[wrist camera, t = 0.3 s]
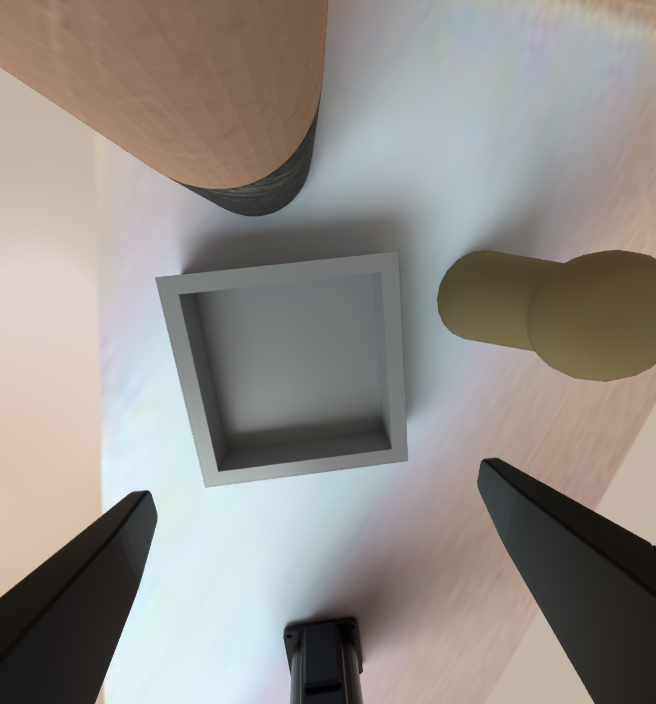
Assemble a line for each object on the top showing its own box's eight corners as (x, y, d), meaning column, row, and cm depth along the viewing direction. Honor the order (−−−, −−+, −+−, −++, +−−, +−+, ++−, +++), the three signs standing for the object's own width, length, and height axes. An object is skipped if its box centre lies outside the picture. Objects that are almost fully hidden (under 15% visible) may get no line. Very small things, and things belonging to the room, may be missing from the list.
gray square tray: (393, 433, 24) (407, 460, 21) (219, 456, 24) (205, 487, 20) (383, 253, 21) (398, 251, 18) (180, 275, 20) (155, 277, 17)
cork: (518, 338, 23) (699, 399, 12) (434, 342, 23) (548, 408, 12) (528, 249, 21) (747, 231, 11) (439, 251, 21) (575, 237, 10)
